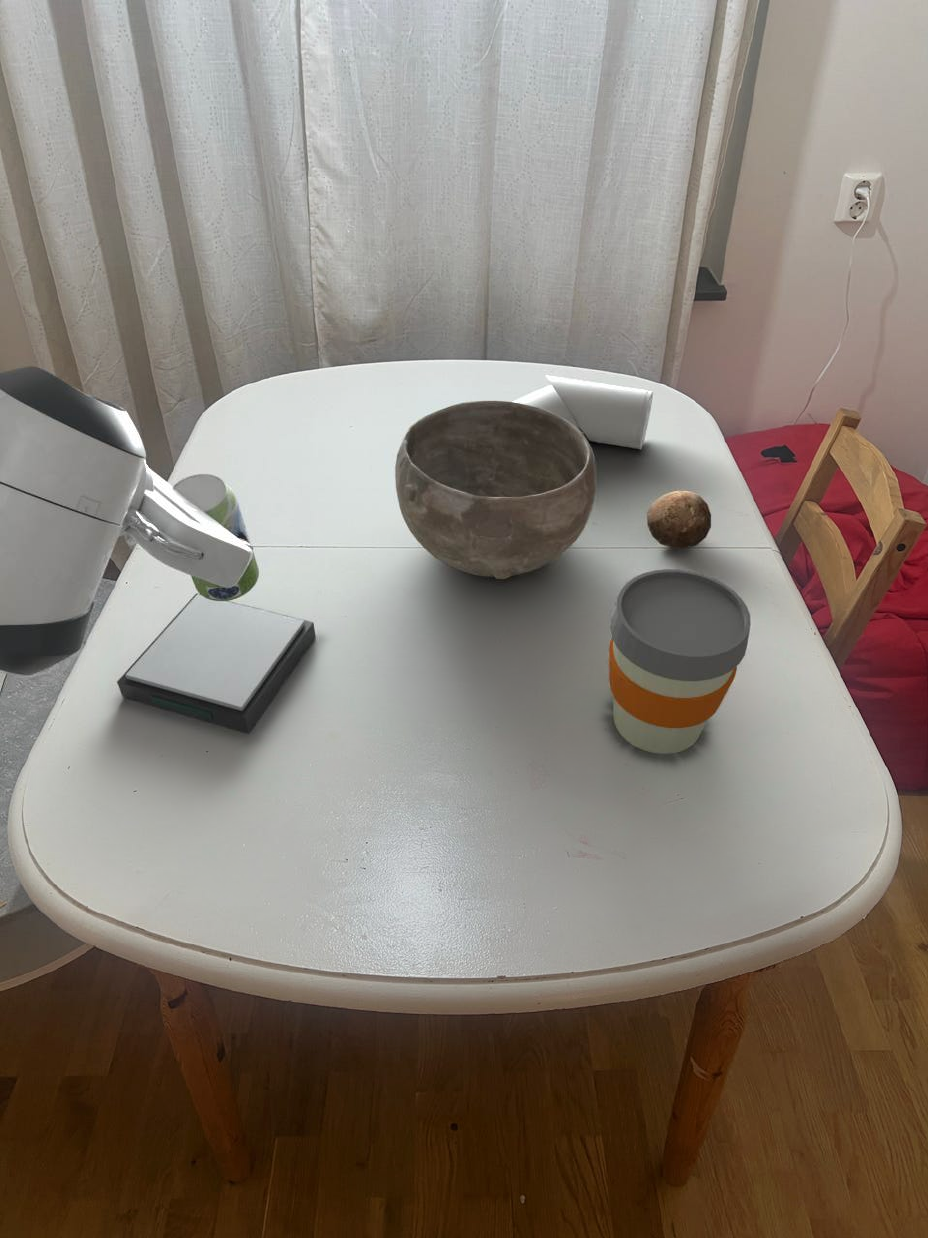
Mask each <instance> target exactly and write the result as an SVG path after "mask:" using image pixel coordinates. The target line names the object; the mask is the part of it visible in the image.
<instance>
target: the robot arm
mask: <svg viewBox="0 0 928 1238" xmlns="http://www.w3.org/2000/svg"><path fill="white" fill-rule="evenodd" d="M146 458H147V453H146V449H145V445H144V443H143V441H142V438H141V436H140V434H139V431H138V430H137V427H136V426H135V424H134V422H133V420H132V419H131V417H130V415H129V413H128V412H127V410H126V409H124V408H123V407H121V406H119V405H117V404H115V403H113V402H111V401H108V400H105V399H102V398H99V397H96V396H93V395H90V394H86V393H85V392H83V391H81V390H80V389H78V388H76V387H74V386H73V385H71V384H70V383H68V382H66V381H65V380H63V379H62V378H60V377H58V376H56V375H55V374H53V373H51V372H49V371H47V370H45V369H43V368H40V367H38V366H34V365H33V366H32V365H27V366H23V367H18V368H13V369H9V370H5V371H0V674H3V675H18V676H19V675H20V676H32V675H35V674H38V673H40V672H42V671H45V670H47V669H49V668H51V667H54V666H56V665H58V664H59V663H61V662H62V661H64V660H66V659H68V658H69V657H72V655H74V654H76V653H78V651H80V650H81V648H82V645H83V641H84V638H85V635H86V631H87V628H88V625H89V622H90V618H91V614H92V612H93V608H94V599H95V597H96V595H97V592H98V589H99V586H100V584H101V581H102V579H103V576H104V574H105V572H106V569H107V566H108V565H109V561H110V559H111V556H112V554H113V551H114V549H115V546H116V544H117V541H118V538H119V537H123V536H127V535H128V536H129V537H130V538H131V539H132V540H133V541H134V542H135V543H136V544H138V545H139V546H140V547H141V548H142V549H143V550H144V551H145V552H147V553H148V554H149V555H150V556H151V557H153V558H154V559H156V560H157V561H159V562H161V563H162V564H164V565H166V566H168V567H170V568H172V569H174V570H176V571H178V572H181V573H183V574H186V575H189V576H190V577H191V576H194V577H197V578H199V579H202V580H205V581H207V582H210V583H213V584H216V585H218V586H221V587H225V588H230V587H233V586H235V585H236V584H237V583H238V582H239V580H240V579H241V577H242V575H243V574H244V572H245V570H246V568H247V567H248V565H249V563H250V561H251V559H252V556H253V552H254V547H253V546H252V544H251V545H250V544H249V543H247V542H246V541H245V540H243V539H241V538H238V537H236V536H234V535H233V534H232V533H230V532H229V531H228V530H227V529H225V528H224V527H223V526H222V525H220V524H219V523H218V522H216V521H215V520H214V519H213V518H211V517H210V516H209V515H208V514H206V513H205V512H204V511H202V510H201V509H200V508H199V507H197V506H196V505H195V504H193V503H192V502H191V501H190V500H188V499H187V498H186V497H185V496H183V495H182V494H181V493H179V492H178V491H177V490H175V489H174V488H172V487H173V486H172V485H171V484H170V483H169V482H167V481H166V480H165V479H163V478H162V477H161V476H160V475H158V474H157V473H156V472H155V471H153V470H152V469H151V468H149V466H148V465H147V461H146ZM252 551H253V552H252Z"/></svg>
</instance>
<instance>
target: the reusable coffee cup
mask: <svg viewBox="0 0 928 1238" xmlns="http://www.w3.org/2000/svg"><path fill="white" fill-rule="evenodd" d="M751 620H752V619H751V614H750V611H749V608H748V606H747V604H746V603H745V601H744V599H743V598H742V597H741V595H739V594H738V593H737V592H736V591H735V590H734V589H732V588H731V587H730V586H728V585H727V584H725V583H724V582H722V581H720V580H718V579H717V578H714V577H711V576H709V575H707V574H704V573H700V572H697V571H692V570H687V569H680V568H679V569H678V568H664V569H656V570H651V571H647V572H643V573H641V574H639V575H636V576H634V577H633V578H632V579H630V580H629V581H627V582H626V583H625V584H624V586H623V587H622V588H621V589H620V591H619V593H618V595H617V598H616V600H615V604H614V607H613V611H612V613H611V616H610V622H609V630H610V631H609V632H610V637H611V638H610V640H609V645H608V683H609V689H610V692H611V694H612V716H613V723H614V725H615V727H616V730H617V732H618V733H619V734H620V735H621V736H622V738H624V739H625V741H627V743H630V744H631V745H632V746H634V747H636V748H638V749H640V750H642V751H645V752H648V753H652V754H659V755H670V754H677V753H680V752H683V751H686V750H687V749H689V748H691V747H692V746H693V745H694V744H696V742H697V741H698V739H699V738H700V735H701V733H702V732H703V730H704V728H705V726H706V724H707V722H708V720H709V719H711V718H712V717H713V716H714V715H715V714H716V713H717V712H718V710H719V708H720V707H721V704H722V702H723V701H724V699H725V697H726V695H727V693H728V692H729V690H730V687H731V685H732V684H733V682H734V680H735V678H736V674H737V670H738V666H739V665H740V664H741V662H742V661H743V659H744V658H745V656H746V654H747V653H746V652H747V648H748V644H749V637H750V631H751V626H752V623H751Z"/></svg>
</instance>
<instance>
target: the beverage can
mask: <svg viewBox="0 0 928 1238" xmlns="http://www.w3.org/2000/svg"><path fill="white" fill-rule="evenodd" d="M172 488H174V489H175V490H177V491H178V492H179V493H181V494H182V495H183V496H185V497H186V498H187V499H188V500H190V501H191V502H192V503H193V504H195V505H196V506H197V507H199V508H200V509H201V510H202V511H204V512H205V513H206V514H208V515H209V516H210V517H211V518H213V519H214V520H215V521H216V522H218V523H219V524H220V525H222V526H223V527H224V528H225V529H227V530H228V531H229V532H230V533H232V534H233V535H234V536H236V537H238V538H241V539H243V540H245V541H246V542H247V543H249V544H250V545H251V546H252V543H251V540H250V537H249V533H248V529H247V527H246V523H245V520H244V517H243V513H242V511H241V507H240V503H239V501H238V498H237V495H236V492H235V491H234V490H233V489H232V488H231V487H230V486H229V485H228V484H226V483H225V481H224V480H223V479H222V478H220V477H219V476H216V475H214V474H210V473H209V474H208V473H198V474H193V475H190V476H187V477H184V478H182V479H180V480H179V481H178V482H176V483H175V484H174V485H173V486H172ZM252 552H253V556H252V559H251V561H250V563H249V565H248V567H247V568H246V570H245V572H244V574H243V575H242V577H241V579H240V580H239V582H238V583H237V584H236V585H235V586H233V587H230V588H225V587H221V586H218V585H216V584H213V583H210V582H207V581H205V580H202V579H199V578H197V577H194V576H191V575H190V577H191V580H192V583H193V584H194V587H195V589H196V591H197V593H198V594H201V595H202V596H203V597H205V598H207V599H210V600H214V601H233V600H236V599H238V598H239V599H240V598H242V597H243V596H245V595H246V594H248V593H249V592H250V591H251V590H253V588H254V587H255V585H256V584H257V582H258V580H259V577H260V570H259V569H260V568H259V565H258V562H257V559H256V556H255V553H254V550H253V551H252Z"/></svg>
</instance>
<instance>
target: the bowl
mask: <svg viewBox="0 0 928 1238" xmlns="http://www.w3.org/2000/svg"><path fill="white" fill-rule="evenodd" d="M395 459H396V461H395V466H394V474H395V475H394V479H395V480H394V481H395V490H396V495H397V501H398V505H399V510H400V513H401V515H402V518H403V520H404V522H405V525H406V526H407V528H408V530H409V532H410V533H411V534H412V536H413V537H414V538H415V540H416V541H417V542H418V543H419V544H420V545H421V546H422V547H423V549H425V550H426V552H428V553H429V554H430V555H431V556H433V557H434V558H435V559H437V560H438V561H440V562H442V563H443V564H445V565H446V566H449V567H450V568H452V569H456V570H459V571H461V572H464V573H467V574H470V575H473V576H479V577H491V578H493V577H494V578H495V579H498V580H506V579H508V578H510V577H512V576H517V575H518V576H519V575H522V574H527V573H529V572H533V571H535V570H539V569H540V568H543V567H545V566H546V565H548V564H550V563H553V562H554V561H555V560H556V559H558V558H559V557H560V556H561V555H562V554H563V553H564V552H565V551H566V550H568V549H569V548H570V547H571V546H572V545H573V544H574V543H575V542H576V541H577V540H578V538H579V537H580V536H581V534H582V532H583V531H584V530H585V528H586V525H587V523H588V520H589V518H590V515H591V513H592V509H593V505H594V502H595V496H596V489H597V464H596V463H597V462H596V459H595V455H594V452H593V448H592V446H591V444H590V443H589V440H588V438H587V437H586V435H585V434H584V433H581V432H580V431H579V430H578V429H577V428H576V427H575V426H574V425H572V424H571V423H570V422H568V421H567V420H565V419H563V418H562V417H560V416H558V415H556V414H554V413H552V412H550V411H547V410H543V409H540V408H537V407H533V406H530V405H525V404H521V403H516V402H513V401H506V400H474V401H465V402H460V403H457V404H453V405H450V406H447V407H445V408H441V409H438V410H436V411H434V412H432V413H430V414H427V415H425V416H423V417H422V418H420V419H418V420H417V421H415V422H414V423H413V424H411V426H410V427H409V428H408V429H407V431H406V433H405V434H404V436H403V439H402V441H401V443H400V446H399V448H398V451H397V454H396V458H395Z"/></svg>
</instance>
